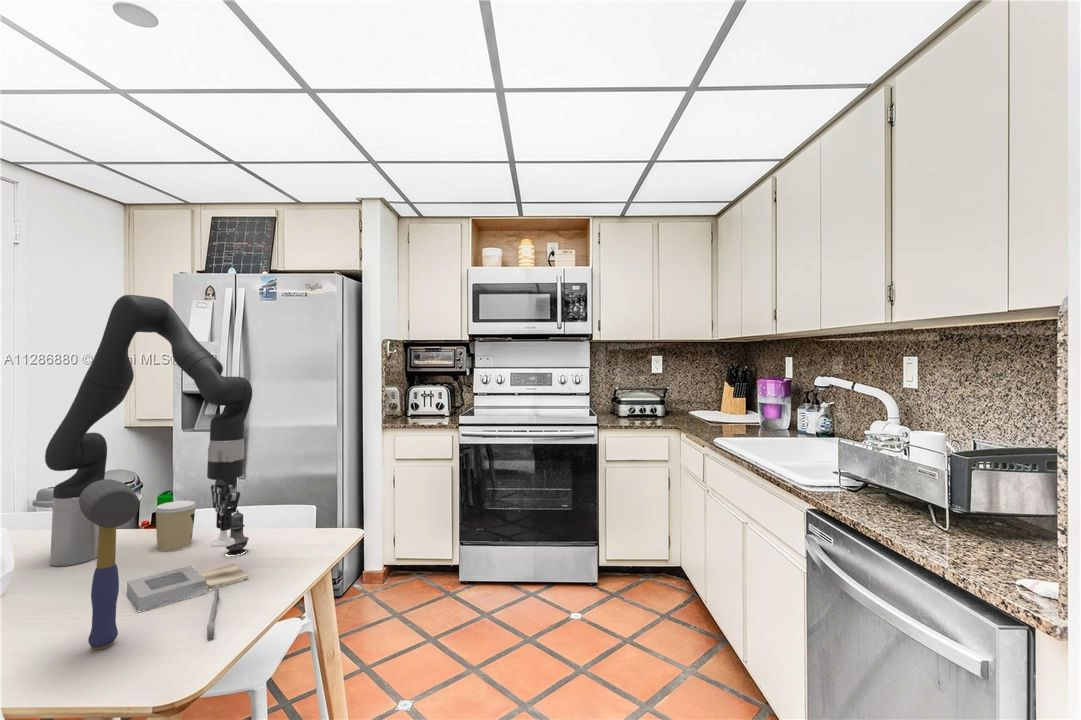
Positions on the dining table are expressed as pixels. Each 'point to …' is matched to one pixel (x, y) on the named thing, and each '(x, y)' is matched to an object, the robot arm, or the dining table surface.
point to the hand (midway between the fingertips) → (223, 528)
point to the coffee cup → (174, 525)
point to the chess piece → (223, 540)
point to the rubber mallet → (106, 552)
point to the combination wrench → (213, 614)
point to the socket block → (165, 587)
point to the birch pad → (223, 576)
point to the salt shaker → (237, 535)
